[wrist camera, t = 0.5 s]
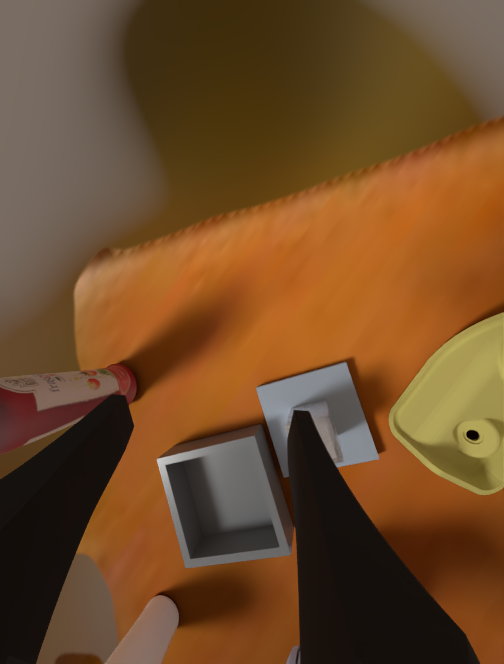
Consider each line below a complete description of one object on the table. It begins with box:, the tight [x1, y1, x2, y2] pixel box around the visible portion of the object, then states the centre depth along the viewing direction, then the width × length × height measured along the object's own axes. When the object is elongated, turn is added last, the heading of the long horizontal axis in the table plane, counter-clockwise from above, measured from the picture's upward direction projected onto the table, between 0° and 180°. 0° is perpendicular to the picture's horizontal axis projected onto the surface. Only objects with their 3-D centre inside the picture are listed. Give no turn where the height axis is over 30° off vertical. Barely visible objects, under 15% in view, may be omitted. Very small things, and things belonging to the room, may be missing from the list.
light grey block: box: [285, 399, 344, 463], centre depth 29 cm, size 5×5×7 cm
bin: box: [157, 424, 294, 568], centre depth 34 cm, size 14×14×4 cm
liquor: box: [0, 364, 137, 455], centre depth 28 cm, size 7×7×28 cm
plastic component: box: [389, 312, 504, 495], centre depth 28 cm, size 20×7×10 cm
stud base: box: [256, 362, 379, 478], centre depth 31 cm, size 12×12×6 cm
